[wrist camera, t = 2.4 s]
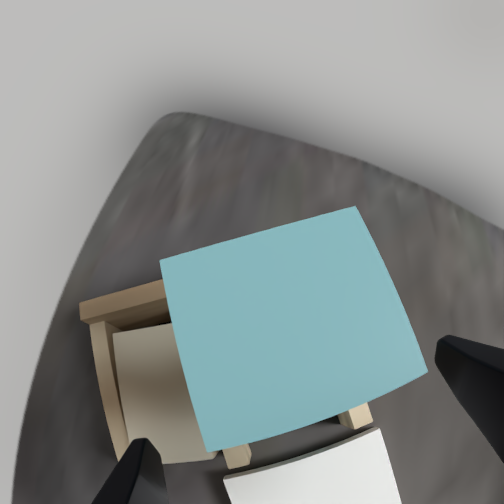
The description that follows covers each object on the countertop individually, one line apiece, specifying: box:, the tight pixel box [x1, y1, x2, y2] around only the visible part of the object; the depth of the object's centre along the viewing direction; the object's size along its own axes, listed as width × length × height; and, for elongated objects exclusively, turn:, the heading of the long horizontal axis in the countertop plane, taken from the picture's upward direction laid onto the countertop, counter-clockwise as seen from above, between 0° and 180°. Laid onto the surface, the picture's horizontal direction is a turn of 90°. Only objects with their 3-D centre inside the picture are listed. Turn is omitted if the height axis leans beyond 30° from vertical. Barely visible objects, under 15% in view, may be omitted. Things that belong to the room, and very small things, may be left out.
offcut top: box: [113, 323, 219, 464], centre depth 14 cm, size 7×4×2 cm, turn 13°
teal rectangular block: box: [160, 206, 428, 453], centre depth 11 cm, size 4×4×12 cm
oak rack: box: [79, 279, 373, 469], centre depth 15 cm, size 10×13×4 cm
